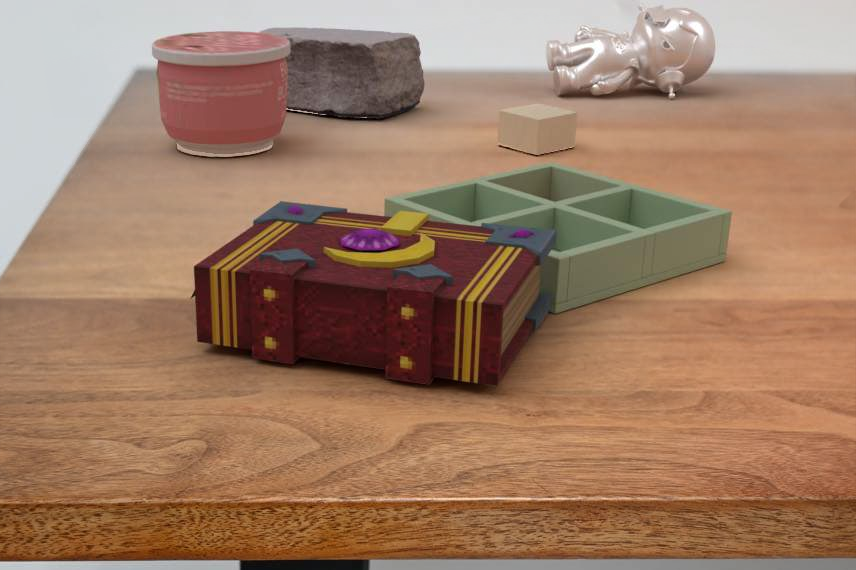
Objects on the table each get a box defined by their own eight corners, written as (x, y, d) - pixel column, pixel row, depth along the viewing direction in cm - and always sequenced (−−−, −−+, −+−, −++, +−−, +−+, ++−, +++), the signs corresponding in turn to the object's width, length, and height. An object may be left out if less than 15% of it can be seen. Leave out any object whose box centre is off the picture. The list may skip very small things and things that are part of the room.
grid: (548, 206, 82) (551, 161, 81) (726, 261, 72) (732, 210, 71) (383, 246, 75) (384, 197, 74) (555, 314, 65) (559, 258, 63)
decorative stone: (421, 127, 105) (425, 97, 114) (422, 43, 102) (426, 20, 111) (247, 125, 107) (265, 96, 116) (243, 43, 104) (262, 20, 113)
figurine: (540, 2, 114) (703, -33, 114) (535, 49, 121) (689, 17, 120) (570, 98, 110) (739, 63, 110) (563, 142, 117) (722, 109, 117)
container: (214, 124, 105) (210, 27, 102) (318, 141, 99) (317, 38, 96) (129, 150, 97) (122, 45, 94) (237, 169, 91) (233, 58, 88)
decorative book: (499, 399, 55) (505, 292, 53) (170, 350, 60) (165, 250, 58) (551, 312, 65) (558, 219, 63) (264, 276, 70) (262, 189, 68)
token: (535, 138, 100) (537, 103, 99) (574, 148, 97) (577, 112, 96) (497, 145, 98) (499, 110, 97) (536, 156, 95) (538, 119, 94)
